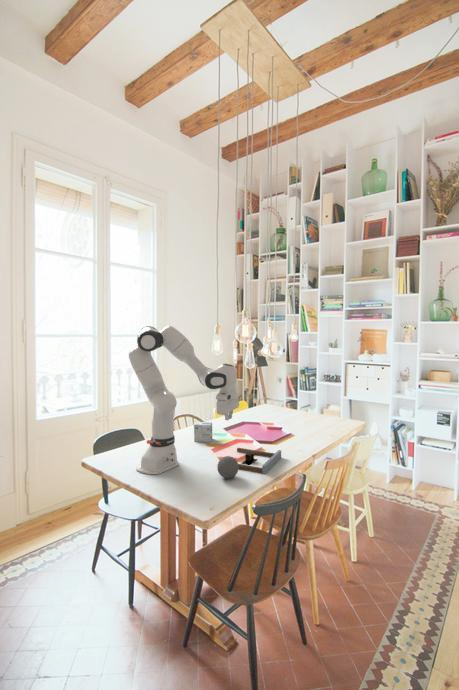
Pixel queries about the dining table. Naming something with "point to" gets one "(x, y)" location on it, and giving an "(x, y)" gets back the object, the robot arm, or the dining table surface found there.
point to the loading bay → (265, 467)
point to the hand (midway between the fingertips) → (228, 419)
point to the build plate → (249, 459)
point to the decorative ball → (227, 467)
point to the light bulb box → (203, 432)
